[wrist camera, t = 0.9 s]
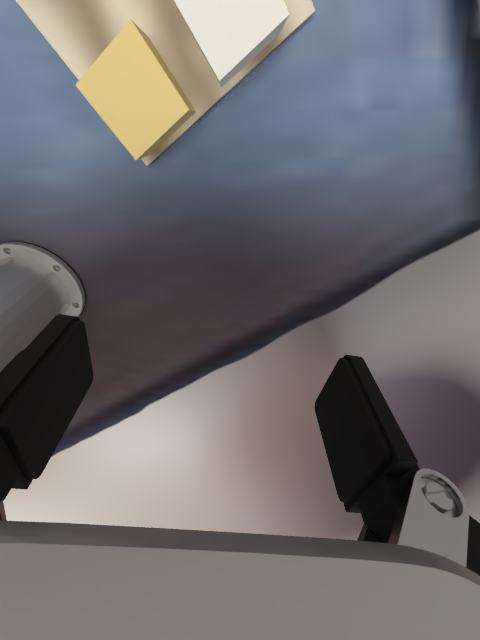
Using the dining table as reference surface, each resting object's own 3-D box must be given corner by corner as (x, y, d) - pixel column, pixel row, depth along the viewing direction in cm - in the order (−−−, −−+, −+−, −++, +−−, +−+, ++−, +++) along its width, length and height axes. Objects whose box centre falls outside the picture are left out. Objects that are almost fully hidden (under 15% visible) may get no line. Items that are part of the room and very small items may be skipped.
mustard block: (150, 154, 28) (135, 160, 24) (101, 91, 25) (75, 84, 21) (196, 111, 26) (189, 109, 22) (148, 37, 23) (130, 18, 19)
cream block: (221, 87, 25) (219, 81, 21) (175, 6, 22) (162, -20, 18) (279, 33, 23) (289, 14, 19) (237, -64, 20) (238, -111, 16)
